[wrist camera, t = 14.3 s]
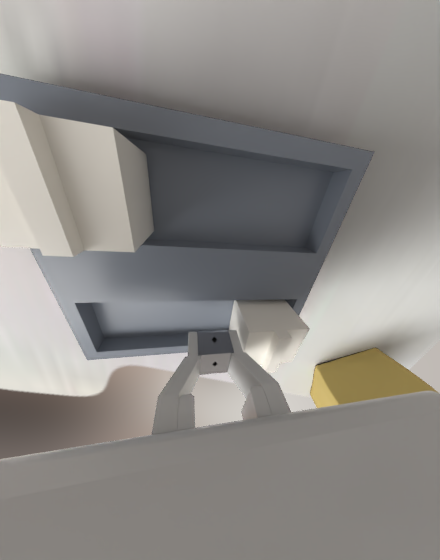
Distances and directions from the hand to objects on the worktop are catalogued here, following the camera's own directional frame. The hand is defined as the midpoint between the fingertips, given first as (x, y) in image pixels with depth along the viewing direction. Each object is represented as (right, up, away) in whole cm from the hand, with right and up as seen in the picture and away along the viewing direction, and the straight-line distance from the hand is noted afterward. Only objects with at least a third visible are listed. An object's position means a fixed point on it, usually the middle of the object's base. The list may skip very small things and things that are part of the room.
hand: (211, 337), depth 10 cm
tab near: (-5, +8, -2) cm, 10 cm away
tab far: (+3, +1, +3) cm, 5 cm away
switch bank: (-1, +5, +2) cm, 6 cm away
